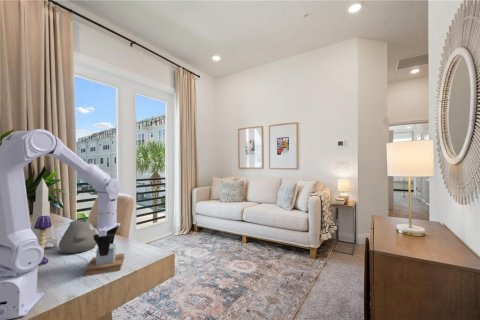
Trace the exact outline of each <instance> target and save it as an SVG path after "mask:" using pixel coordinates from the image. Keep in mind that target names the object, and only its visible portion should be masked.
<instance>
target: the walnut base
mask: <svg viewBox="0 0 480 320" xmlns="http://www.w3.org/2000/svg"><path fill="white" fill-rule="evenodd" d="M124 261H125V253H116V258H115V260H114V262H113V263H109V264H102V265H96V256H95V257H92V258H91V260H90V261H89V262H88V264H87V265H86V267H85V269H84V277H86V276H87V277H88V276H93V275H101V274H107V273H112V272H119V271H120V272H121V270H122V267H123V263H124Z"/></svg>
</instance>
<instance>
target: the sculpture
mask: <svg viewBox="0 0 480 320" xmlns="http://www.w3.org/2000/svg"><path fill="white" fill-rule="evenodd" d="M50 202H51V201H49V188H48V186H47V184H46V182H45V179H44V178H43V177H41V180H40V181H39V182H38V185H37V187H36V189H35V201H33V205H32V206H33V207H32V220H31V221H32V222H31V230H32V231H33V233H34V234H35V235H36V237H37V239H38V244H39V237H40V236H39V234H40V229H34V227H35V224H36V221H37V219H38V217H40V216H49V217H50V218H51V211H50V209H51V208H50V207H51V203H50ZM47 229H48V228H46V230H47ZM49 229H50V231H51V232H50V233H51V237H50V236H45V244H44V245H45V246H46V245H48V244H53V247H54V248H58V243H57V242H58V241H57V240H58V239H57V237H55V225H52V226H51V227H50V228H49Z"/></svg>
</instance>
